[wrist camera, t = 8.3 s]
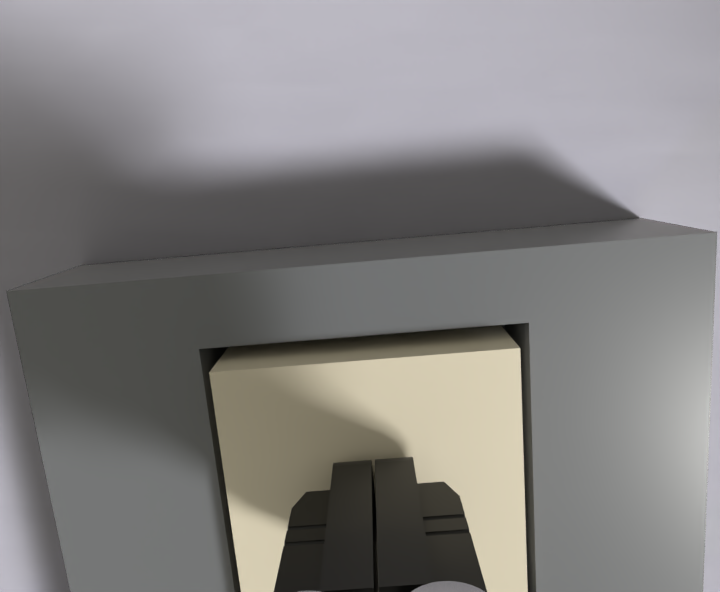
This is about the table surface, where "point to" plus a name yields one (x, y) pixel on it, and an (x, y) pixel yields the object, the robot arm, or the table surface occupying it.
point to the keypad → (375, 317)
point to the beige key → (374, 433)
